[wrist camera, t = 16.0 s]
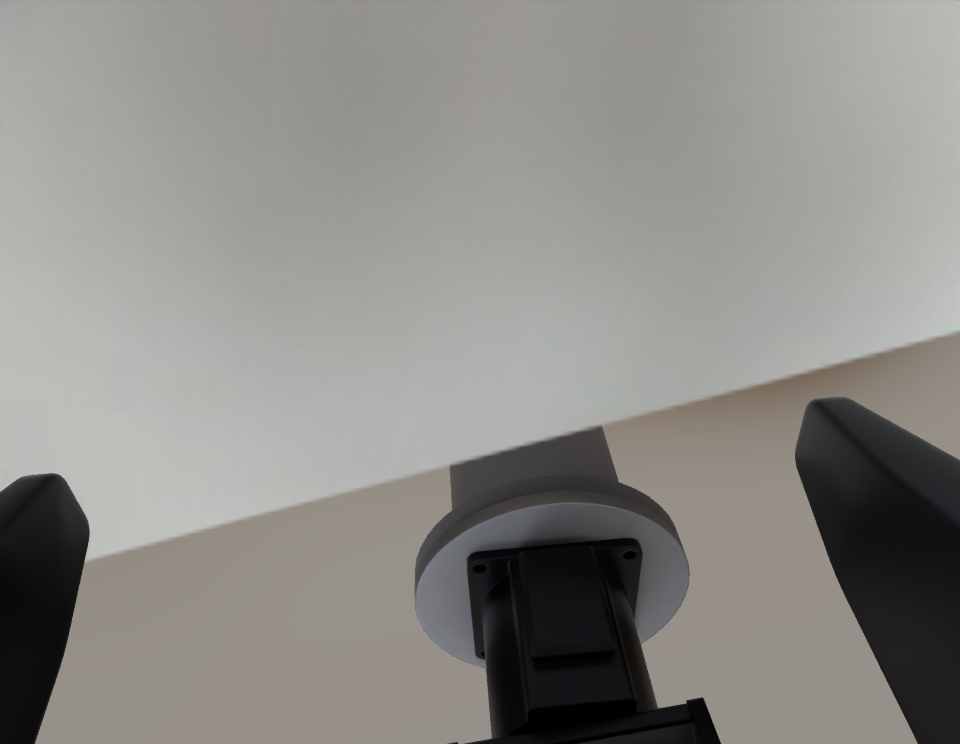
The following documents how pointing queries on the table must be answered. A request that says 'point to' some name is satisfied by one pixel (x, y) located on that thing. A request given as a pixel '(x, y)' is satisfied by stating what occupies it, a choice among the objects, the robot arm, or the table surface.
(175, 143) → the table surface
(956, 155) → the table surface
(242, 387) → the table surface
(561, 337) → the table surface
